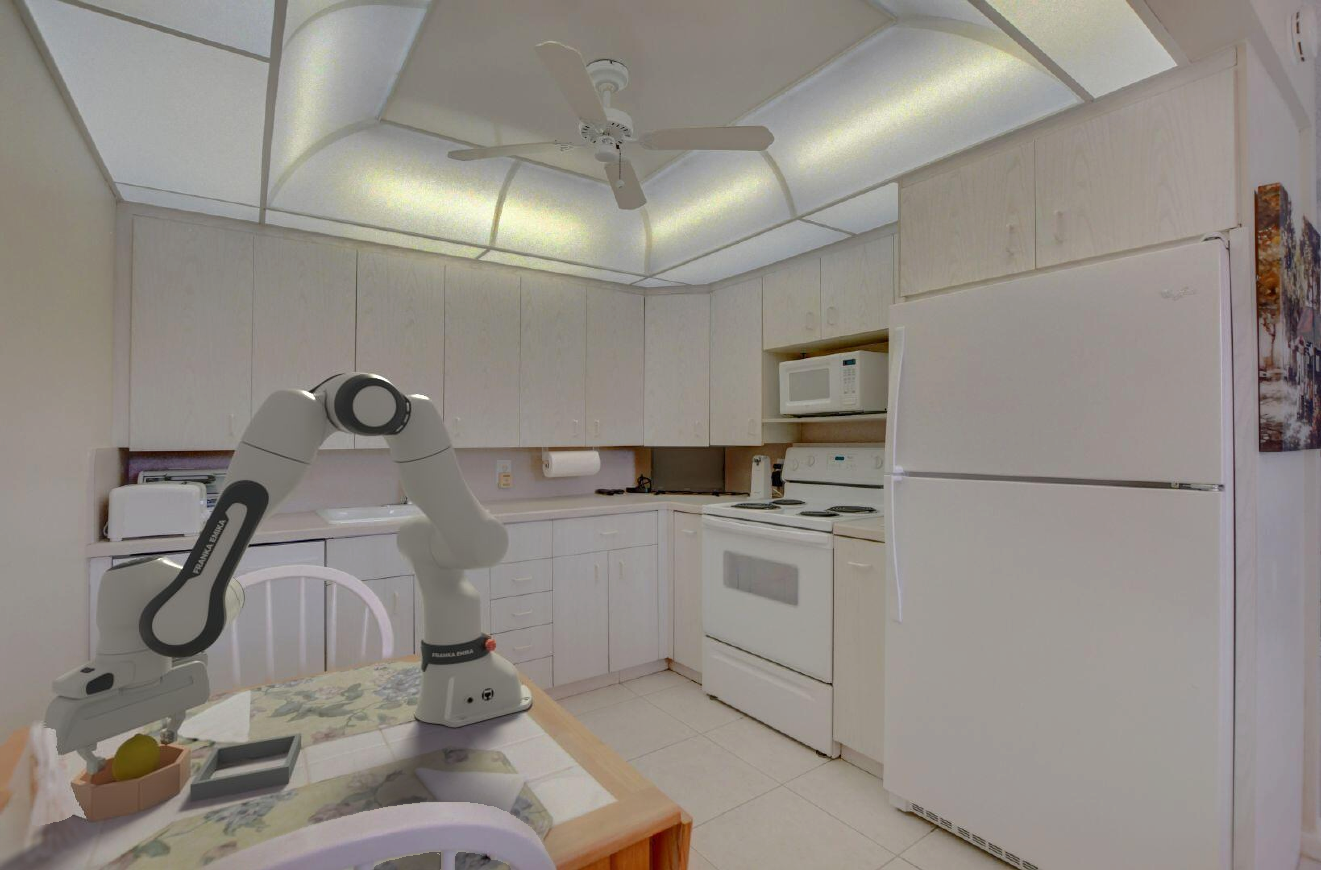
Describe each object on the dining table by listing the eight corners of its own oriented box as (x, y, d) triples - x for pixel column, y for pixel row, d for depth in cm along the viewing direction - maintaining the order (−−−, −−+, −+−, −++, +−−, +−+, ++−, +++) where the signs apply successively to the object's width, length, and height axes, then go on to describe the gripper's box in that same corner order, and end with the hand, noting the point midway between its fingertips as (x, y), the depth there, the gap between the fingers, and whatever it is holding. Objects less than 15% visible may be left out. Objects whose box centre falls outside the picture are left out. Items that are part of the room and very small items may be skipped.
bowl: (197, 765, 101) (197, 737, 101) (170, 805, 89) (171, 774, 90) (99, 782, 96) (99, 753, 96) (56, 828, 84) (57, 794, 85)
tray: (301, 747, 107) (301, 732, 107) (288, 782, 95) (288, 766, 95) (214, 762, 102) (214, 747, 102) (190, 801, 90) (190, 784, 91)
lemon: (130, 798, 90) (133, 742, 90) (100, 795, 91) (104, 739, 91) (167, 781, 95) (170, 727, 96) (139, 777, 96) (142, 725, 97)
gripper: (195, 642, 104) (194, 724, 104) (36, 685, 85) (35, 786, 85) (219, 646, 102) (219, 730, 101) (62, 691, 83) (60, 795, 83)
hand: (134, 756), depth 93 cm, fingers open, 8 cm apart
